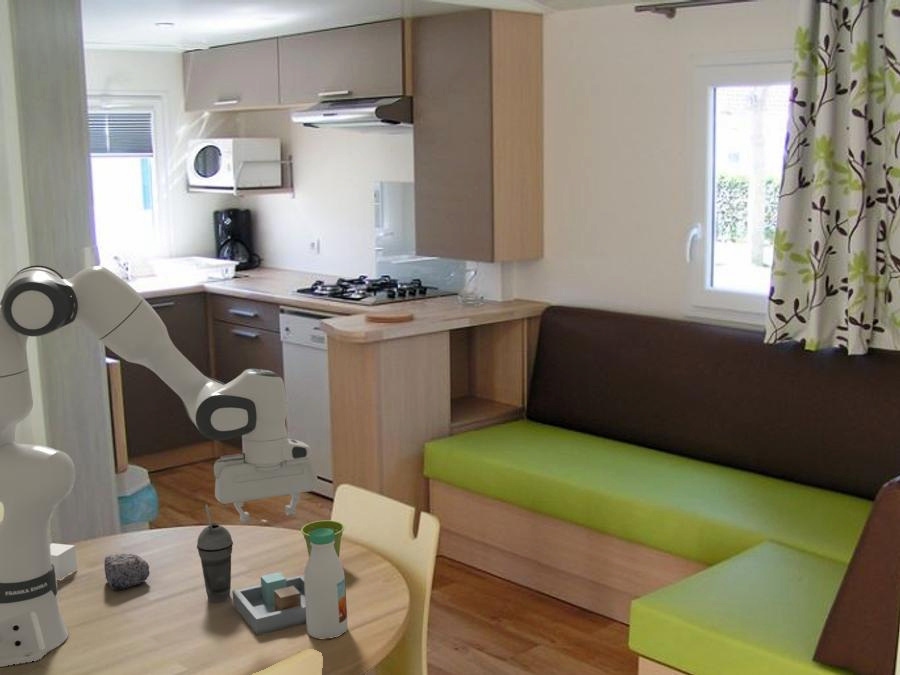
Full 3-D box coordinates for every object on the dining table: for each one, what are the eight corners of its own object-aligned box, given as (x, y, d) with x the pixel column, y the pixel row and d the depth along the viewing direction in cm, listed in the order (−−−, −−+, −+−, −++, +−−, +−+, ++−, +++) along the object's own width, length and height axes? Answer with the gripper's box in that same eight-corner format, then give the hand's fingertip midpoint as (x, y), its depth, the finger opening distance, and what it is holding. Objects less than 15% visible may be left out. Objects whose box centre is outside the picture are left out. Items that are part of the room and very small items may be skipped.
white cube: (60, 582, 235) (57, 555, 234) (37, 579, 236) (34, 553, 235) (77, 571, 240) (75, 545, 239) (54, 568, 242) (52, 543, 241)
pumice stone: (149, 584, 237) (103, 575, 236) (156, 551, 236) (110, 542, 235) (139, 603, 227) (91, 593, 226) (147, 569, 226) (99, 559, 225)
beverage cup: (228, 606, 220) (221, 512, 216) (194, 604, 221) (187, 510, 217) (242, 591, 227) (235, 499, 223) (209, 589, 228) (202, 498, 224)
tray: (257, 634, 207) (256, 619, 206) (233, 605, 220) (232, 590, 219) (331, 616, 214) (331, 600, 213) (304, 588, 227) (303, 574, 226)
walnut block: (282, 621, 210) (280, 597, 209) (275, 614, 214) (273, 590, 213) (301, 617, 212) (300, 593, 211) (294, 609, 216) (293, 585, 215)
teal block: (268, 606, 217) (267, 583, 216) (262, 599, 221) (260, 576, 220) (287, 602, 219) (286, 578, 218) (280, 594, 223) (279, 571, 222)
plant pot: (355, 561, 240) (353, 524, 239) (328, 577, 232) (326, 538, 231) (322, 554, 245) (319, 517, 244) (294, 568, 237) (292, 531, 236)
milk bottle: (330, 644, 202) (325, 542, 198) (298, 634, 206) (292, 535, 202) (355, 627, 208) (350, 528, 205) (324, 619, 213) (318, 521, 209)
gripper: (217, 460, 206) (220, 530, 208) (319, 447, 216) (321, 514, 218) (208, 453, 212) (212, 521, 214) (308, 441, 221) (310, 506, 223)
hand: (267, 518), depth 216 cm, fingers open, 8 cm apart
